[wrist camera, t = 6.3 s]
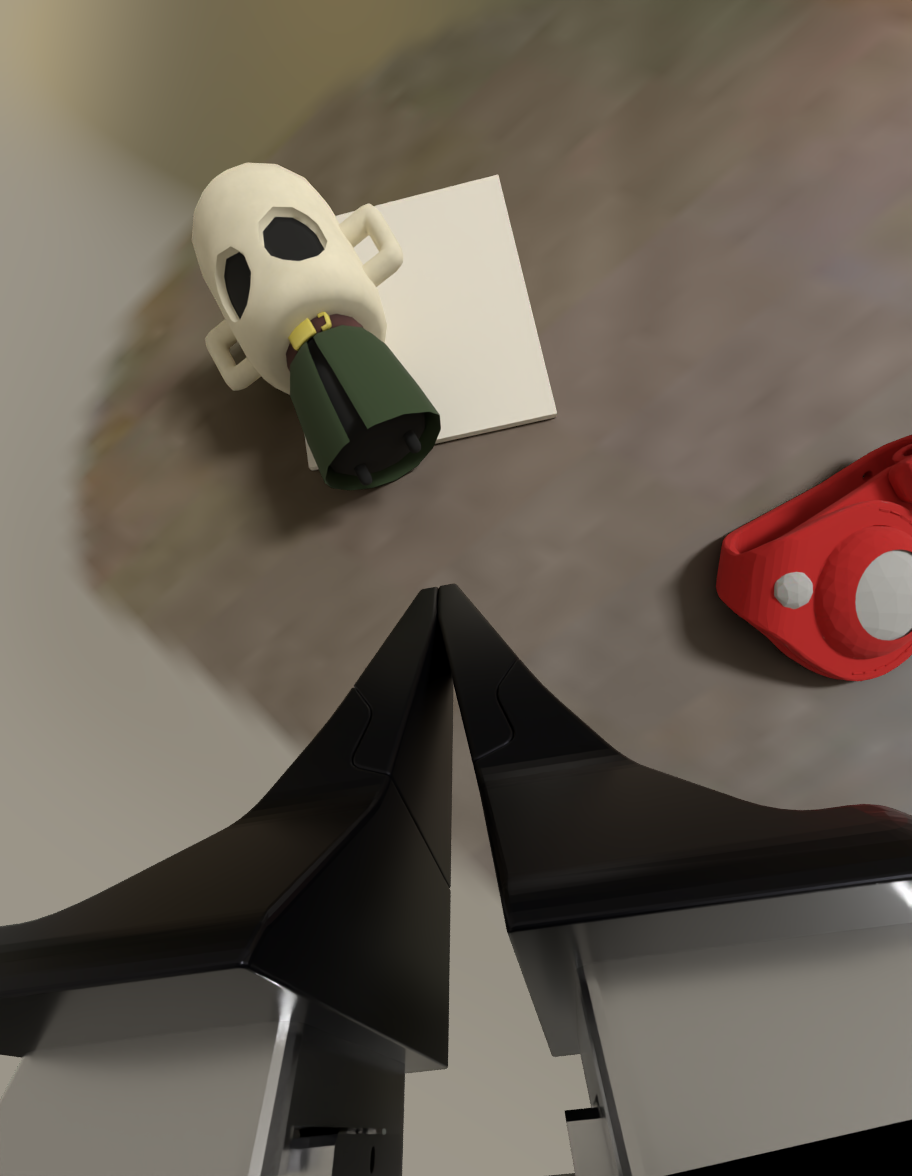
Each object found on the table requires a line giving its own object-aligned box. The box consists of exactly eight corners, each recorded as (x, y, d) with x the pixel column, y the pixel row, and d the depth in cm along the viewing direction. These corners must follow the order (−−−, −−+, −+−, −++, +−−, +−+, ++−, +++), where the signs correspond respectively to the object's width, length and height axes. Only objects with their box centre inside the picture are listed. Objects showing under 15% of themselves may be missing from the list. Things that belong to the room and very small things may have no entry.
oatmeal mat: (555, 417, 22) (556, 413, 22) (312, 470, 23) (308, 467, 23) (498, 182, 25) (498, 174, 24) (280, 237, 25) (277, 230, 25)
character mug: (254, 517, 17) (119, 262, 18) (337, 534, 24) (238, 350, 25) (481, 361, 15) (316, 80, 16) (499, 430, 22) (384, 234, 22)
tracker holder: (964, 693, 18) (769, 690, 16) (852, 664, 22) (690, 659, 21) (1018, 409, 17) (813, 377, 15) (889, 437, 21) (720, 415, 19)
